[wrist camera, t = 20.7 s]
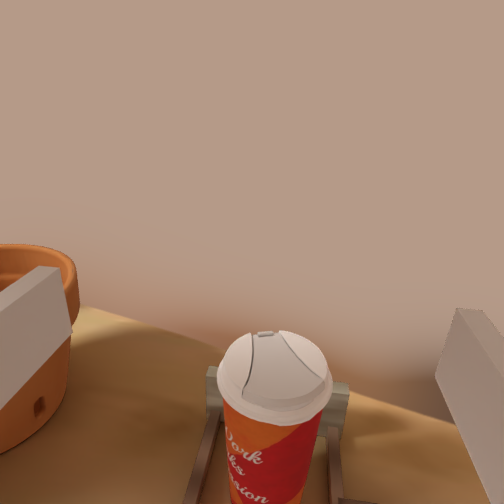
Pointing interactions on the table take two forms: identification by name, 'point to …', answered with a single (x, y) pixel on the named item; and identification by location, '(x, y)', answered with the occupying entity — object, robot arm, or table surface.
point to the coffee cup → (271, 414)
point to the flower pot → (56, 367)
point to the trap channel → (328, 428)
